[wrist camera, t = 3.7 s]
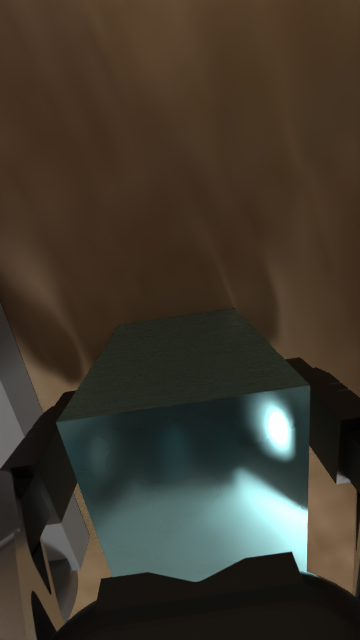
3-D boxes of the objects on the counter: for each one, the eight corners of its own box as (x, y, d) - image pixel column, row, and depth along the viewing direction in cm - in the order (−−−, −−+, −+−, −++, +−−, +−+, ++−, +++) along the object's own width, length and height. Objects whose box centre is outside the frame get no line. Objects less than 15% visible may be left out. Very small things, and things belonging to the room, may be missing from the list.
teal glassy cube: (233, 307, 10) (310, 385, 5) (243, 421, 12) (306, 578, 6) (119, 324, 10) (55, 422, 5) (145, 435, 12) (122, 603, 7)
